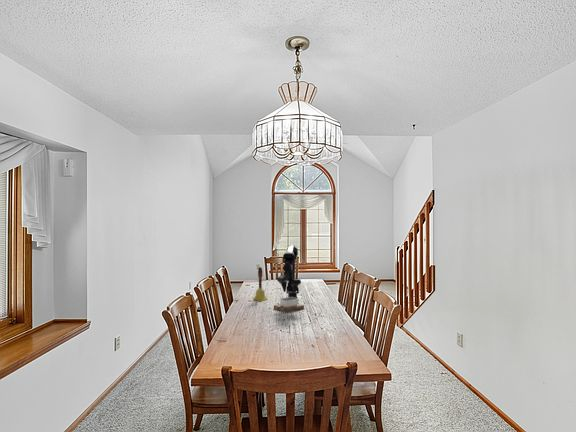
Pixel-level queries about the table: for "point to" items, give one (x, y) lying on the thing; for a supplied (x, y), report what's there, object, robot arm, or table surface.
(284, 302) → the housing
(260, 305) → the table surface
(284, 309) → the walnut stand
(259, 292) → the handbell
